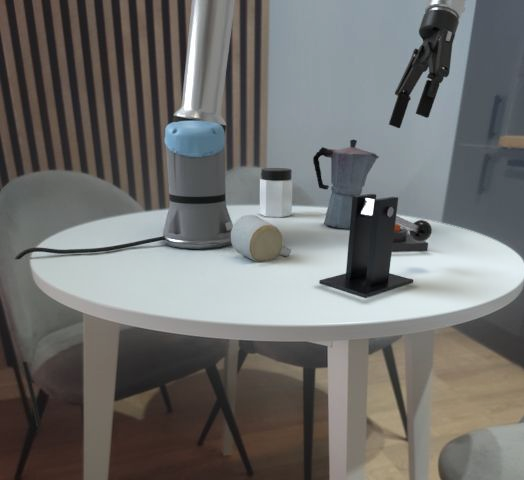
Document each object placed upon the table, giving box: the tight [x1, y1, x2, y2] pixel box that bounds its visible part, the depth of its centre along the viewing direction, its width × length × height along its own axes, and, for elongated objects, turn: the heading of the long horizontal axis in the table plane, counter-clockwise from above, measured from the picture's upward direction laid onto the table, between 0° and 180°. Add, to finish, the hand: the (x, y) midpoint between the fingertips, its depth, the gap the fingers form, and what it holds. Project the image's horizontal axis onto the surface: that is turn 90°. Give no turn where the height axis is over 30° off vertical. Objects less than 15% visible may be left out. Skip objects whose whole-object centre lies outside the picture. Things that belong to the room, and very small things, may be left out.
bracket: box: [318, 193, 414, 299], centre depth 76 cm, size 12×9×14 cm
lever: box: [361, 198, 433, 242], centre depth 78 cm, size 17×4×4 cm, turn 130°
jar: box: [259, 167, 294, 218], centre depth 136 cm, size 9×8×12 cm
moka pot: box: [312, 139, 380, 230], centre depth 120 cm, size 10×15×20 cm, turn 89°
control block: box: [392, 227, 429, 253], centre depth 101 cm, size 12×10×4 cm
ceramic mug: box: [231, 214, 292, 263], centre depth 92 cm, size 11×8×8 cm
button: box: [394, 224, 401, 232], centre depth 100 cm, size 4×4×2 cm
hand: (407, 121), depth 109 cm, fingers open, 13 cm apart
